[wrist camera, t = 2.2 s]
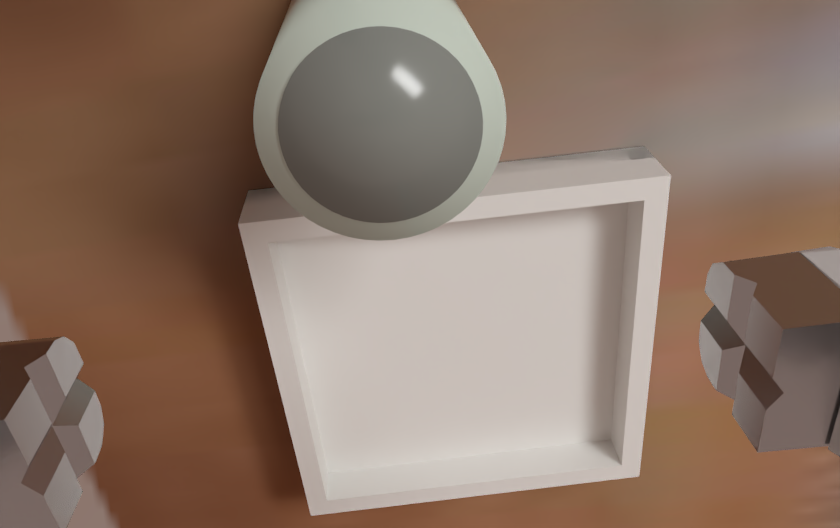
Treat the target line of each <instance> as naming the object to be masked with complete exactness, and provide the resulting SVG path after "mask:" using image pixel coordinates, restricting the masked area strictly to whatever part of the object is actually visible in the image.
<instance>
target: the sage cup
mask: <svg viewBox="0 0 840 528" xmlns="http://www.w3.org/2000/svg"><path fill="white" fill-rule="evenodd" d="M253 128H254V135H255V142H256V147H257V150H258V154H259V157H260V160H261V162H262V165H263V167H264V169H265V171H266V174H267V175H268V177H269V179H270V180H271V182H272V183H273V185H274V187H275V188H276V189H277V191H278V192H279V193H280V194H281V196H282V197H283V198H284V199H285V200H286V201H287V202H288V203H289V204H290V205H291V206H292V207H293V208H294V209H295V210H296V211H298V212H299V213H300V214H302V215H303V216H304V217H306V218H307V219H308V220H310V221H312V222H314V223H315V224H317V225H319V226H321V227H323V228H325V229H327V230H330V231H332V232H334V233H337V234H341V235H344V236H347V237H352V238H357V239H363V240H377V241H383V240H397V239H402V238H408V237H412V236H416V235H419V234H423V233H425V232H428V231H430V230H432V229H435V228H437V227H439V226H441V225H443V224H444V223H446V222H448V221H450V220H451V219H453V218H454V217H455V216H457V215H458V214H459V213H461V212H462V211H463V210H465V209H466V208H467V207H468V206H469V205H470V204H471V203H472V202H473V201H474V200H475V199H476V198H477V196H478V195H479V194H480V193H481V191H482V190H483V189H484V188H485V186H486V184H487V183H488V181H489V180H490V178H491V177H492V175H493V172H494V170H495V168H496V166H497V164H498V162H499V158H500V155H501V152H502V149H503V145H504V139H505V133H506V108H505V100H504V95H503V91H502V87H501V84H500V81H499V79H498V76H497V73H496V71H495V69H494V67H493V65H492V64H491V62H490V60H489V58H488V56H487V55H486V53H485V51H484V49H483V48H482V46H481V44H480V43H479V41H478V39H477V37H476V36H475V34H474V32H473V30H472V29H471V27H470V25H469V24H468V22H467V20H466V18H465V17H464V15H463V13H462V12H461V10H460V8H459V6H458V5H457V3H456V1H455V0H291V3H290V6H289V8H288V11H287V13H286V16H285V18H284V21H283V23H282V26H281V28H280V31H279V33H278V36H277V38H276V41H275V44H274V46H273V49H272V51H271V54H270V56H269V59H268V61H267V64H266V66H265V69H264V71H263V74H262V76H261V79H260V82H259V86H258V89H257V93H256V96H255V104H254V111H253Z"/></svg>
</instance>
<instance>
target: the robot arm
mask: <svg viewBox="0 0 840 528" xmlns="http://www.w3.org/2000/svg"><path fill="white" fill-rule="evenodd" d="M705 293H706V294H707V295H708V297H709V298H710V299H711V301H712V302H713V303H714V306H713V307H712V308H711V310H710V311H709V312H708V313H707V314H706V315H705V316H704V318H703V319H702V320H701V325H700V335H699V346H700V353H701V360H702V364H703V366H704V369H705V371H706V374H707V377H708V378H709V380H710V381H711V383H712V385H713V386H714V388H715V389H716V391H718V392H720V393H722V394H724V395H726V396H728V397H730V398H732V399H734V405H733V411H732V415H733V417H734V418H735V420H736V421H737V423H738V424H739V425H740V427H741V428H742V430H743V431H744V433H745V434H746V436H747V437H748V439H749V440H750V442H751V443H752V445H753V446H754V448H755V449H756V451H757V452H768V451H779V450H790V449H800V448H811V447H822V446H829V447H828V449H829V450H830V451H832V452H833V453H835V454H836V455H838V456H839V457H840V249H838V248H834V247H823V248H817V249H810V250H803V251H797V252H791V253H786V254H778V255H771V256H764V257H757V258H749V259H742V260H735V261H728V262H720V263H713V264H712V266H711V268H710V270H709V272H708V275H707V281H706V287H705ZM83 364H84V363H83V361H82V359H81V357H80V355H79V352H78V350H77V348H76V346H75V344H74V342H72V341H71V340H69V339H67V338H65V337H64V336H63V337H53V338H42V339H31V340H21V341H10V342H0V528H67V526H68V524H69V522H70V519H71V517H72V515H73V512H74V510H75V508H76V506H77V503H78V501H79V499H80V497H81V494H82V492H83V491H82V488H81V486H80V484H79V482H78V480H77V478H78V477H79V476H80V475H82V474H83V473H84V472H85V471H86V470H88V469H89V468H90V467H91V466H92V465H94V464H95V462H96V459H97V457H98V454H99V452H100V449H101V447H102V440H103V429H104V421H103V415H102V409H101V405H100V402H99V400H98V397H97V395H96V392H95V391H94V390H93V389H92V388H90V387H89V386H87V385H86V384H84V383H83V382H81V381H80V380H79V379H77V377H78V375H79V373H80V370H81V368H82V366H83Z"/></svg>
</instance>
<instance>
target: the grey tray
mask: <svg viewBox="0 0 840 528" xmlns="http://www.w3.org/2000/svg"><path fill="white" fill-rule="evenodd" d="M670 179H671V175H670V174H669V173H668V172H667V171H666V169H665V168H664V167H663V166H662V165H661V164H660V163H659V162H658V161H657V160H656V159H655V157H654V156H653V155H652V154H651V153H650V152H649V151H648V150H647V149H646V148H645V146H643V147H634V148H625V149H616V150H607V151H598V152H589V153H580V154H571V155H562V156H553V157H544V158H535V159H526V160H517V161H508V162H499V163H498V164H497V166H496V168H495V170H494V172H493V175H492V177H491V178H490V180H489V181H488V183H487V184H486V186H485V188H484V189H483V190H482V191H481V193H480V194H479V195H478V196H477V198H476V199H475V200H474V201H473V202H472V203H471V204H470V205H469V206H468V207H467V208H466V209H465V210H463V211H462V212H461V213H459V214H458V215H457V216H455V217H454V218H453V219H451V220H450V221H448V222H446V223H444V224H443V225H441V226H439V227H437V228H435V229H432V230H430V231H428V232H425V233H423V234H419V235H416V236H412V237H408V238H402V239H397V240H383V241H377V240H363V239H357V238H352V237H347V236H344V235H341V234H337V233H334V232H332V231H330V230H327V229H325V228H323V227H321V226H319V225H317V224H315V223H314V222H312V221H310V220H308V219H307V218H306V217H304V216H303V215H302V214H300V213H299V212H298V211H296V210H295V209H294V208H293V207H292V206H291V205H290V204H289V203H288V202H287V201H286V200H285V199H284V198H283V197H282V196H281V194H280V193H279V192H278V191H277V189H276V188H266V189H257V190H248V193H247V196H246V199H245V202H244V206H243V209H242V212H241V215H240V219H239V222H238V226H239V230H240V234H241V238H242V242H243V246H244V250H245V254H246V258H247V262H248V266H249V270H250V274H251V278H252V282H253V286H254V290H255V294H256V298H257V302H258V306H259V310H260V314H261V318H262V322H263V326H264V330H265V334H266V338H267V342H268V346H269V350H270V354H271V358H272V362H273V366H274V370H275V374H276V378H277V382H278V386H279V390H280V394H281V398H282V402H283V406H284V410H285V414H286V418H287V422H288V426H289V430H290V434H291V438H292V442H293V446H294V450H295V454H296V458H297V462H298V466H299V470H300V474H301V478H302V482H303V486H304V490H305V494H306V498H307V502H308V506H309V510H310V514H311V516H314V515H322V514H330V513H339V512H347V511H355V510H364V509H372V508H380V507H389V506H397V505H405V504H414V503H422V502H430V501H439V500H447V499H455V498H464V497H472V496H480V495H489V494H497V493H505V492H514V491H522V490H530V489H539V488H547V487H555V486H564V485H572V484H580V483H589V482H597V481H605V480H614V479H622V478H630V477H639V473H640V464H641V454H642V445H643V435H644V426H645V417H646V407H647V398H648V388H649V379H650V369H651V360H652V350H653V341H654V331H655V322H656V312H657V303H658V293H659V284H660V274H661V265H662V255H663V246H664V236H665V227H666V217H667V208H668V198H669V189H670Z"/></svg>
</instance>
